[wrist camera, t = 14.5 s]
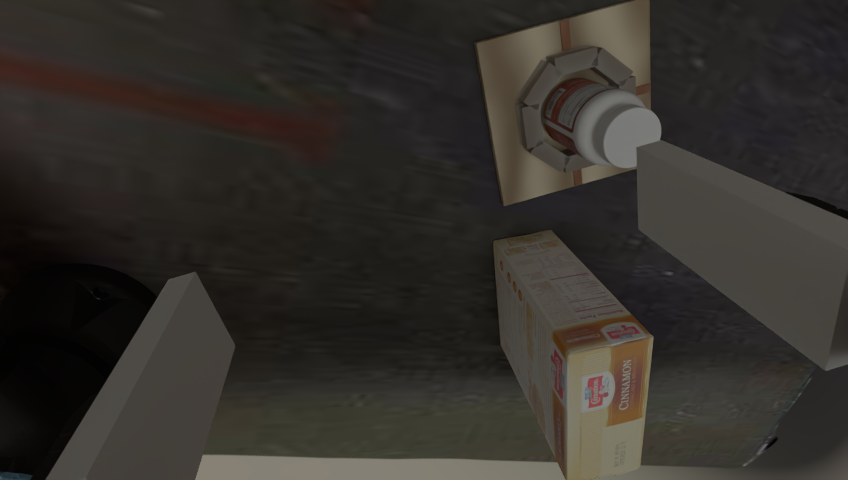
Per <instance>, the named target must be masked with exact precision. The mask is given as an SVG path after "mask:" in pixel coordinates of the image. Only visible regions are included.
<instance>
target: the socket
mask: <svg viewBox="0 0 848 480" xmlns="http://www.w3.org/2000/svg"><path fill="white" fill-rule="evenodd" d="M474 47H475V53H476V59H477V64H478V70H479V76H480V82H481V88H482V94H483V99H484V105H485V111H486V117H487V123H488V128H489V134H490V140H491V146H492V152H493V157H494V163H495V169H496V175H497V181H498V187H499V192H500V198H501V203H502V204H503V205H504V206H507V205H510V204H514V203H517V202H521V201H524V200H528V199H531V198H535V197H538V196H542V195H545V194H549V193H552V192H556V191H559V190H563V189H566V188H570V187H573V186H577V185H581V184H584V183H588V182H591V181H595V180H598V179H602V178H605V177H609V176H612V175H616V174H619V173H623V172H626V171H630V170H633V169H637V166H635V167H631V168H620V167H616V166H614V165H610V166H602V165H597V164H594V163H591V162H589V161H587V160H586V159H584V158H582V157H581V156H579V155H578V154H576V153H574V152H573V151H571V150H569V149H568V148H566V147H565V146H563V145H561V144H560V143H558V142H556V141H555V140H554V139H552V138H551V137H550V136H549V135H548V133H547V132H546V130H545V128H544V126H543V122H542V109H543V105H544V102H545V100H546V98H547V96H548V95H549V93H550V92H551V91H552V90H553V89H554V88H555V87H556V86H557V85H559V84H560V83H562V82H564V81H566V80H569V79H573V78H583V79H588V80H592V81H595V82H598V83H601V84H605V85H608V86H612V87H615V88H619V89H622V90H625V91H628V92H631V93H633V94H634V95H636V96H637V97H638V98H639V99H640V100H641V101H642V102H643V104H644V105H645V107H646V108H647V109H649V110H651V98H650V92H651V84H650V2H649V0H629V1H625V2H622V3H618V4H614V5H611V6H607V7H603V8H600V9H596V10H592V11H589V12H585V13H581V14H578V15H574V16H570V17H566V18H563V19H559V20H555V21H552V22H548V23H544V24H541V25H537V26H533V27H530V28H526V29H522V30H519V31H515V32H511V33H508V34H504V35H500V36H496V37H493V38H489V39H485V40H482V41H478V42H474Z"/></svg>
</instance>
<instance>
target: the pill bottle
mask: <svg viewBox="0 0 848 480" xmlns="http://www.w3.org/2000/svg"><path fill="white" fill-rule="evenodd" d="M542 122H543V126H544V128H545V130H546V132H547V133H548V135H549V136H550V137H551V138H552V139H554V140H555V141H556V142H558V143H560V144H561V145H563V146H565V147H566V148H568V149H569V150H571V151H573V152H574V153H576V154H578V155H579V156H581V157H582V158H584V159H586V160H587V161H589V162H591V163H594V164H597V165H602V166H610V165H614V166H616V167H620V168H631V167H635V166H637V152H636V147H639V146H642V145H646V144H649V143H653V142H656V141H660V137H661V125H660V122H659V119H658V117H657V116H656V115H655V114H654V113H653V112H652V111H651V110H649V109H647V108H646V107H645V105H644V104H643V102H642V101H641V100H640V99H639V98H638V97H637V96H636V95H634V94H633V93H631V92H628V91H625V90H622V89H619V88H615V87H612V86H608V85H605V84H601V83H598V82H595V81H592V80H588V79H583V78H573V79H569V80H566V81H564V82H562V83H560V84H559V85H557V86H556V87H555V88H554V89H553V90H552V91H551V92H550V93H549V95H548V96H547V98H546V100H545V102H544V105H543V109H542Z"/></svg>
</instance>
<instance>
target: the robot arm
mask: <svg viewBox="0 0 848 480" xmlns="http://www.w3.org/2000/svg"><path fill="white" fill-rule="evenodd" d="M636 152H637V192H638V229H639V230H640V231H641V232H643V233H644V234H645V235H647V236H648V237H649V238H651V239H652V240H653V241H655V242H656V243H657V244H659V245H660V246H661V247H662V248H664V249H665V250H666V251H668V252H669V253H670V254H672V255H673V256H674V257H676V258H677V259H678V260H680V261H681V262H682V263H684V264H685V265H686V266H688V267H689V268H690V269H692V270H693V271H694V272H696V273H697V274H698V275H699V276H701V277H702V278H703V279H705V280H706V281H707V282H709V283H710V284H711V285H713V286H714V287H715V288H717V289H718V290H719V291H721V292H722V293H723V294H725V295H726V296H727V297H729V298H730V299H731V300H732V301H734V302H735V303H736V304H738V305H739V306H740V307H742V308H743V309H744V310H746V311H747V312H748V313H750V314H751V315H752V316H754V317H755V318H756V319H758V320H759V321H760V322H762V323H763V324H764V325H766V326H767V327H768V328H769V329H771V330H772V331H773V332H775V333H776V334H777V335H779V336H780V337H781V338H783V339H784V340H785V341H787V342H788V343H789V344H791V345H792V346H793V347H795V348H796V349H797V350H799V351H800V352H801V353H803V354H804V355H805V356H806V357H808V358H809V359H810V360H812V361H813V362H814V363H816V364H817V365H818V366H820V367H821V368H822V369H824V370H826V371H827V370H830V369H833V368H836V367H840V366H843V365H847V364H848V211H846V210H843V209H841V208H840V209H837V208H836V206H834V205H831V204H829V203H826V202H824V201H821V200H819V199H817V198H814V197H809V196H804V195H799V194H794V193H789V192H786V193H784V192H782V191H779V190H777V189H775V188H772V187H770V186H768V185H765V184H763V183H761V182H758V181H756V180H754V179H751V178H749V177H746V176H744V175H742V174H739V173H737V172H735V171H732V170H730V169H728V168H725V167H723V166H721V165H718V164H716V163H714V162H711V161H709V160H707V159H704V158H702V157H700V156H697V155H695V154H693V153H690V152H688V151H686V150H683V149H681V148H679V147H676V146H674V145H671V144H669V143H667V142H664V141H662V140H660V141H656V142H653V143H649V144H646V145H642V146H639V147H636ZM234 349H235V344H234V342H233V340H232V338H231V337H230V335H229V333H228V331H227V329H226V327H225V326H224V324H223V322H222V320H221V318H220V316H219V314H218V313H217V311H216V309H215V307H214V305H213V303H212V301H211V300H210V298H209V296H208V294H207V292H206V290H205V289H204V287H203V285H202V283H201V281H200V279H199V277H198V276H197V274H196V272H193V273H189V274H186V275H182V276H179V277H175V278H172V279H169V280H168V281H167V283H166V285H165V286H164V288H163V290H162V291H161V293H160V294H159V296H158V298H156V297H155V296H154V295H153V294H152V293H151V292H150V291H149V290H147V289H146V288H145V287H144V286H142V285H141V284H139V283H138V282H136V281H135V280H133V279H131V278H129V277H127V276H125V275H123V274H121V273H118V272H116V271H113V270H110V269H107V268H103V267H98V266H93V265H84V264H66V265H58V266H53V267H49V268H45V269H42V270H40V271H37V272H35V273H33V274H31V275H29V276H28V277H26V278H25V279H24V280H22V281H21V282H20V283H19V284H18V285H17V286H15V287H14V288H13V289H12V290H11V291H10V292H9V293H7V294H6V296H5V297H4V298H3V299H2V300H1V302H0V480H195V478H196V475H197V472H198V468H199V465H200V462H201V458H202V455H203V452H204V448H205V445H206V442H207V438H208V435H209V432H210V429H211V425H212V422H213V419H214V415H215V412H216V409H217V405H218V402H219V399H220V395H221V392H222V389H223V385H224V382H225V379H226V375H227V372H228V369H229V365H230V362H231V359H232V356H233V352H234Z"/></svg>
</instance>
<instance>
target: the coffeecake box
mask: <svg viewBox="0 0 848 480" xmlns="http://www.w3.org/2000/svg"><path fill="white" fill-rule="evenodd" d="M493 247H494V264H495V278H496V290H497V304H498V318H499V330H500V343H501V347H502V349H503V351H504V352H505V354H506V357H507V359H508V361H509V363H510V365H511V367H512V369H513V371H514V373H515V375H516V378H517V380H518V382H519V384H520V386H521V388H522V390H523V392H524V394H525V396H526V398H527V400H528V402H529V404H530V406H531V409H532V411H533V413H534V415H535V417H536V419H537V421H538V423H539V425H540V427H541V429H542V431H543V434H544V436H545V438H546V440H547V442H548V444H549V446H550V448H551V450H552V452H553V454H554V456H555V458H556V460H557V462H558V464H559V466H560V468H561V471H562V473H563V475H564V477H565V479H566V480H592V479H595V478H600V477H604V476H608V475H619V474H623V473H627V472H630V471H634V470H637V469H639V468H640V463H641V453H642V444H643V434H644V424H645V414H646V405H647V396H648V385H649V375H650V367H651V357H652V347H653V338H654V337H653V336H652V335H651V334H650V333H648V331H647V330H646V329H645V328H644V327H643V326H642V325H641V324H640V323H639V322H638V321H637V320H636V319H635V318H634V317H633V316H632V315H631V314H630V313H629V312H628V311H627V309H626V308H625V307H624V306H623V305H622V304H621V303H620V302H619V301H618V300H617V299H616V298H615V297H614V296H613V295H612V294H611V293H610V292H609V291H608V289H607V288H606V287H605V286H604V285H603V284H602V283H601V282H600V281H599V280H598V279H597V278H596V277H595V276H594V275H593V274H592V273H591V272H590V270H589V269H588V268H587V267H586V266H585V265H584V264H583V263H582V262H581V261H580V260H579V259H578V258H577V257H576V256H575V255H574V254H573V253H572V252H571V251H570V249H569V248H568V247H567V246H566V245H565V244H564V243H563V242H562V241H561V240H560V239H559V238H558V237H557V236H556V235H555V234H554V233H553V231H552V230H547V231H542V232H537V233H532V234H529V235H523V236H517V237H510V238H504V239H499V240H494V241H493Z"/></svg>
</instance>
